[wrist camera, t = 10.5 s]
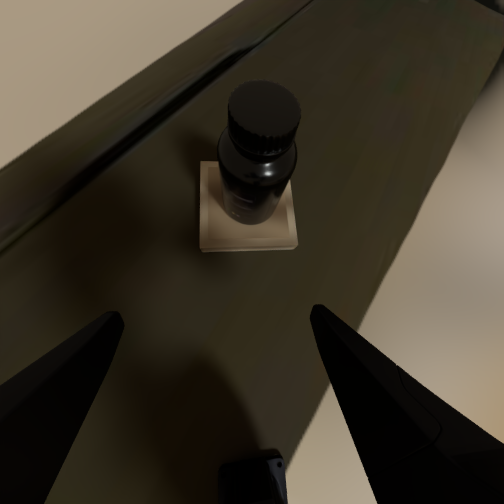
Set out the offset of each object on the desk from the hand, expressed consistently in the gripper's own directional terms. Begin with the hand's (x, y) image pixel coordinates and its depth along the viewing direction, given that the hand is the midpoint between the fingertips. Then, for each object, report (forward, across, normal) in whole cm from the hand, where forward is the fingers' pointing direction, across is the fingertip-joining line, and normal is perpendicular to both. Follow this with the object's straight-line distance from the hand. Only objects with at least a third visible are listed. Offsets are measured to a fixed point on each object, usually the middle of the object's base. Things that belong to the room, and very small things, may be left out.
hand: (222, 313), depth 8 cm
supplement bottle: (+17, -3, -1) cm, 17 cm away
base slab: (+19, -2, +1) cm, 19 cm away
